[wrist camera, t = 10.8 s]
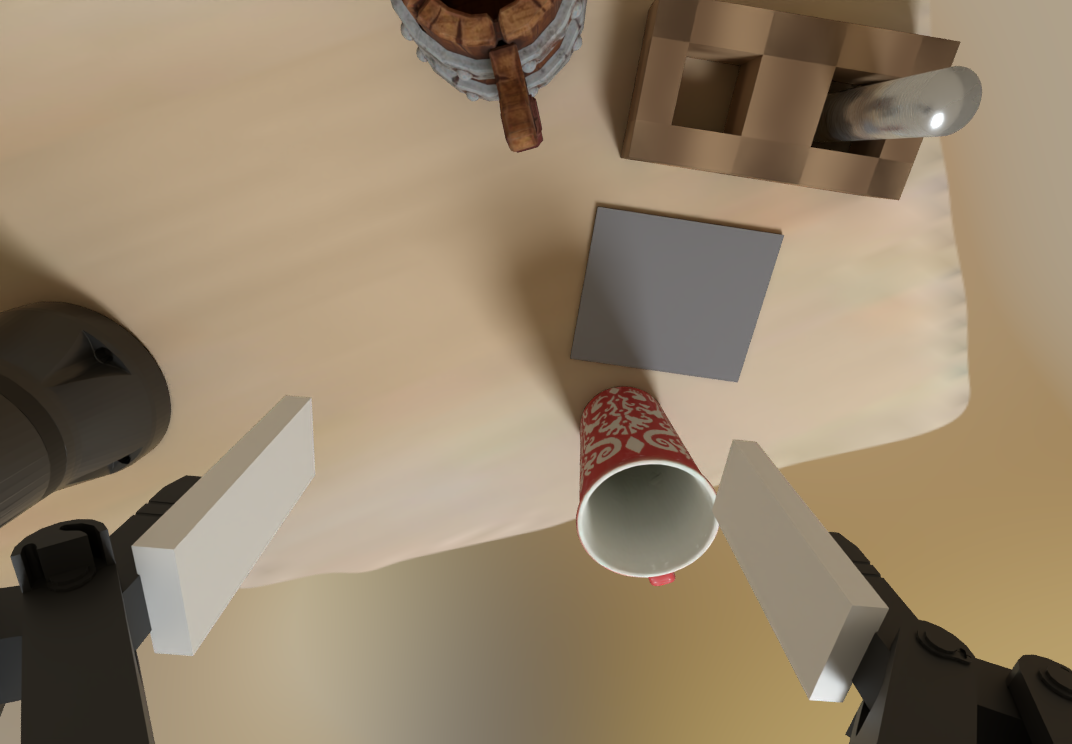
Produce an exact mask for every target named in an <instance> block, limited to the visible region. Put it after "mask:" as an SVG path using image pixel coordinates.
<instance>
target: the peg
mask: <svg viewBox="0 0 1072 744" xmlns="http://www.w3.org/2000/svg"><path fill="white" fill-rule="evenodd" d="M981 96H982V87H981V82H980V80H979V78H978V76H977V74H975V73H974V71H972V70H971V69H969V68H966V67H962V66H954V67H949V68H944V69H940V70H935V71H931V72H926V73H922V74H917V75H913V76H908V77H904V78H899V79H895V80H890V81H886V82H881V83H876V84H872V85H867V86H863V87H858V88H854V89H849V90H845V91H840V92H836V93H831V94H827V97H826V100H825V103H824V106H823V109H822V113H821V116H820V119H819V122H818V125H817V128H816V132H815V135H814V138H813V141H815V142H839V141H858V140H878V139H898V138H918V137H937V136H947V135H950V134H952V133H955V132H957V131H959V130H960V129H961V128H963V127H964V126H965V125H966V124H967V123H968V122H969V121H970V120H971V119H972V117H973V116H974V115H975V113H976V111H977V109H978V107H979V105H980V101H981Z"/></svg>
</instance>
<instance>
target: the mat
mask: <svg viewBox="0 0 1072 744" xmlns="http://www.w3.org/2000/svg"><path fill="white" fill-rule="evenodd" d="M783 237H784V235H780V234H774V233H767V232H761V231H754V230H748V229H741V228H735V227H728V226H722V225H715V224H709V223H702V222H696V221H689V220H682V219H676V218H669V217H663V216H656V215H650V214H643V213H637V212H630V211H624V210H617V209H611V208H604V207H597V213H596V218H595V224H594V229H593V235H592V241H591V246H590V252H589V257H588V263H587V268H586V274H585V279H584V285H583V290H582V296H581V301H580V307H579V313H578V318H577V324H576V329H575V335H574V340H573V346H572V351H571V357H570V358H571V359H578V360H585V361H592V362H599V363H606V364H613V365H620V366H627V367H634V368H641V369H648V370H655V371H662V372H669V373H676V374H683V375H690V376H697V377H704V378H711V379H718V380H725V381H732V382H738V380H739V376H740V373H741V370H742V367H743V364H744V361H745V357H746V354H747V351H748V348H749V345H750V342H751V338H752V335H753V332H754V329H755V326H756V323H757V319H758V316H759V313H760V310H761V307H762V304H763V300H764V297H765V294H766V291H767V288H768V285H769V281H770V278H771V275H772V272H773V269H774V266H775V262H776V259H777V256H778V253H779V250H780V247H781V243H782V240H783Z"/></svg>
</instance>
